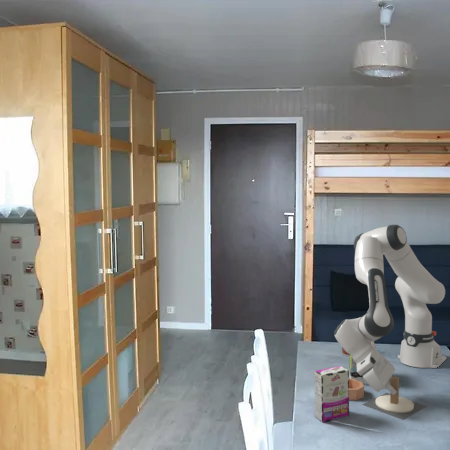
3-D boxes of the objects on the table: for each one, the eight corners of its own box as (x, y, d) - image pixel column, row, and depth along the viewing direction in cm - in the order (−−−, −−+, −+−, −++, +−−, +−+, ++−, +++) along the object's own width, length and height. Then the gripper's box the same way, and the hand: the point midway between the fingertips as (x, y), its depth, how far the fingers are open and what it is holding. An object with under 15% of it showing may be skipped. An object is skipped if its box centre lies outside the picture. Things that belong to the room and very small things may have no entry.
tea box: (376, 387, 201) (377, 350, 200) (350, 385, 203) (350, 348, 202) (373, 373, 216) (373, 339, 214) (348, 371, 218) (349, 337, 216)
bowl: (344, 387, 201) (344, 376, 200) (368, 395, 192) (369, 384, 192) (326, 394, 194) (327, 383, 193) (351, 404, 185) (351, 392, 185)
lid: (379, 395, 192) (380, 369, 191) (416, 402, 185) (417, 375, 184) (371, 408, 180) (372, 380, 179) (410, 416, 174) (411, 387, 173)
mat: (386, 394, 194) (386, 392, 194) (426, 407, 182) (426, 406, 182) (362, 406, 184) (362, 404, 184) (403, 421, 172) (403, 419, 171)
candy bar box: (340, 410, 180) (341, 365, 179) (349, 416, 175) (350, 369, 174) (313, 416, 175) (313, 370, 174) (321, 422, 171) (322, 374, 170)
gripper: (369, 356, 196) (395, 386, 192) (355, 373, 179) (383, 406, 175) (381, 346, 194) (408, 376, 190) (368, 363, 176) (397, 396, 172)
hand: (396, 391), depth 182 cm, fingers closed on lid, 2 cm apart
